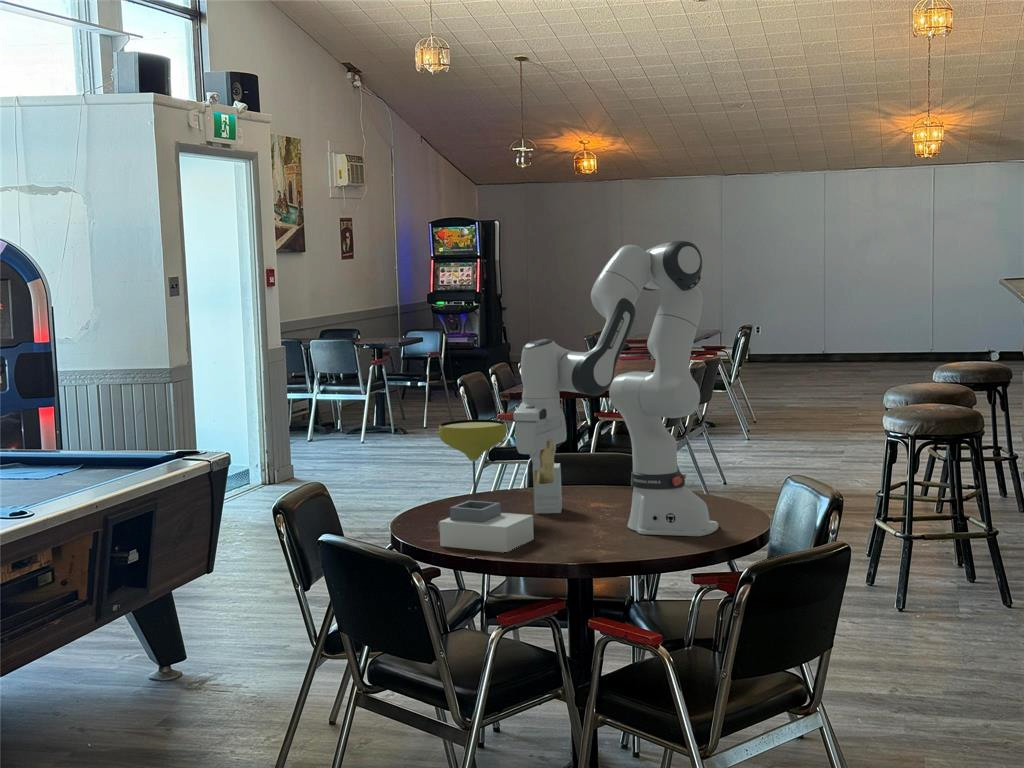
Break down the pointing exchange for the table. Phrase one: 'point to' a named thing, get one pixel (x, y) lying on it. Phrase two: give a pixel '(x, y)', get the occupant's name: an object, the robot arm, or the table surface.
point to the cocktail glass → (472, 438)
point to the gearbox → (485, 527)
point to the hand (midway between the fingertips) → (543, 466)
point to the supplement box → (549, 494)
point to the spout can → (545, 466)
